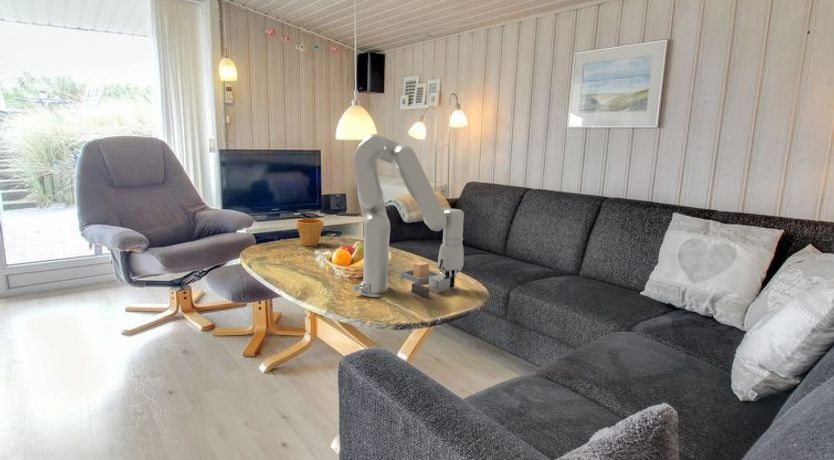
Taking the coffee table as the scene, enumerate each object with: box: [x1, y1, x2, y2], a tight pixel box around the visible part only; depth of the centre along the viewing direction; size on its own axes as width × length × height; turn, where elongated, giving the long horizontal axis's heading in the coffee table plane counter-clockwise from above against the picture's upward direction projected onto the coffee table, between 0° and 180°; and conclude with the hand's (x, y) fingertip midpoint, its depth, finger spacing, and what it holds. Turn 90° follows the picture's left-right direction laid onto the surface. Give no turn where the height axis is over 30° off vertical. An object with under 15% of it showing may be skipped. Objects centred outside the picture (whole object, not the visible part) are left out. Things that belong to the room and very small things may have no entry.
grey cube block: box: [428, 274, 450, 293], centre depth 187 cm, size 6×6×5 cm
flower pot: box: [295, 218, 324, 247], centre depth 261 cm, size 14×14×13 cm
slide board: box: [402, 282, 468, 302], centre depth 186 cm, size 23×12×5 cm, turn 129°
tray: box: [400, 269, 441, 285], centre depth 203 cm, size 12×12×4 cm
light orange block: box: [412, 261, 430, 278], centre depth 203 cm, size 5×4×7 cm
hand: (450, 286), depth 191 cm, fingers closed
